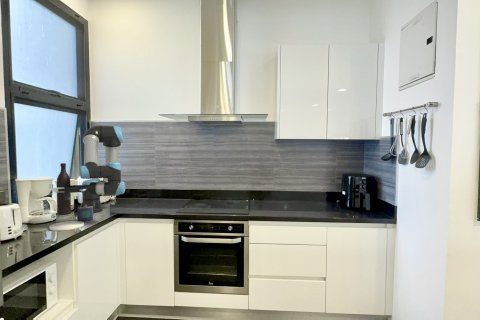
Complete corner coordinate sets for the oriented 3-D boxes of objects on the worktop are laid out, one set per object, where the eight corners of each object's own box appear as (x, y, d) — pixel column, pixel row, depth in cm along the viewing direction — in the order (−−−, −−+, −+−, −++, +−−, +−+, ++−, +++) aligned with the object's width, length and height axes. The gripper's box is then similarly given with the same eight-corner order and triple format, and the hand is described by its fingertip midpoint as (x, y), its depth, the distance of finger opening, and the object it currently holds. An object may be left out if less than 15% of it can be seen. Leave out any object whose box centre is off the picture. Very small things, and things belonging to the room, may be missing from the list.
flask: (92, 219, 198) (92, 203, 198) (94, 220, 196) (93, 204, 196) (77, 222, 192) (76, 205, 191) (78, 223, 190) (78, 206, 189)
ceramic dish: (56, 223, 188) (56, 221, 188) (87, 222, 191) (87, 220, 191) (43, 231, 170) (43, 229, 170) (78, 230, 174) (78, 228, 174)
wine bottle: (63, 215, 175) (62, 163, 174) (54, 215, 177) (53, 163, 176) (73, 213, 182) (72, 163, 181) (64, 212, 184) (63, 162, 183)
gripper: (92, 197, 173) (48, 198, 168) (101, 191, 192) (61, 192, 188) (92, 184, 172) (47, 185, 168) (101, 180, 192) (61, 180, 187)
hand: (55, 189), depth 178 cm, fingers closed on wine bottle, 7 cm apart
